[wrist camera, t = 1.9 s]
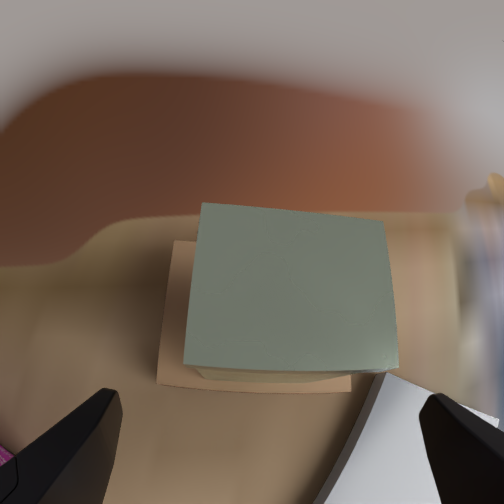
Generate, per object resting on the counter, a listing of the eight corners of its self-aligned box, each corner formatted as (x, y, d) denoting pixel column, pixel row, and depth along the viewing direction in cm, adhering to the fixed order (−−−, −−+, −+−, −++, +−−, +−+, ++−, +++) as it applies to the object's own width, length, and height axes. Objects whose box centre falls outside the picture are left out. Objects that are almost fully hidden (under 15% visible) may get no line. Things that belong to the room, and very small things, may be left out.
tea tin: (306, 385, 15) (398, 367, 7) (203, 380, 15) (183, 363, 7) (306, 307, 17) (382, 221, 9) (209, 300, 16) (202, 202, 8)
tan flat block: (332, 393, 18) (351, 391, 15) (165, 385, 17) (155, 383, 14) (329, 273, 21) (345, 254, 19) (179, 261, 21) (174, 239, 18)
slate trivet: (426, 554, 12) (436, 559, 11) (292, 534, 13) (298, 543, 12) (487, 420, 17) (499, 419, 16) (375, 374, 18) (386, 372, 17)
